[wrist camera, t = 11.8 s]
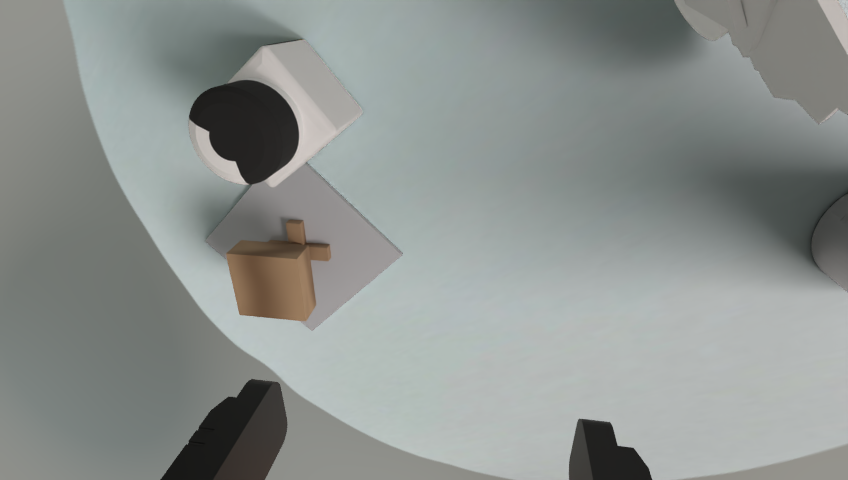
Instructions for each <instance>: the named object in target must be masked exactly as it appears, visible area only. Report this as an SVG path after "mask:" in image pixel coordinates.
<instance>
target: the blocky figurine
mask: <svg viewBox="0 0 848 480" xmlns="http://www.w3.org/2000/svg"><path fill="white" fill-rule="evenodd" d="M361 115H362V109H361V107H360V106H359V105H358V104H357V102H356V101H355V100H354V99H353V97H352V96H351V95H350V94H349V93H348V91H347V90H346V89H345V88H344V86H343V85H342V84H341V83H340V81H339V80H338V79H337V78H336V77H335V75H334V74H333V73H332V72H331V70H330V69H329V68H328V67H327V65H326V64H325V63H324V62H323V60H322V59H321V58H320V57H319V56H318V54H317V53H316V52H315V51H314V49H313V48H312V47H311V46H310V44H309V43H308V42H307V41H306V40H304V39H300V40H294V41H287V42H281V43H275V44H269V45H263V46H261V47H260V48H259V49H258V50H257V52H256V53H255V54H254V55H253V56H252V57H251V58H250V59H249V60H248V61H247V62H246V63H245V64H244V65H243V67H242V68H241V69H240V70H239V71H238V72H237V73H236V74H235V75H234V76H233V77H232V78H231V79H230V80H229V82H228V83H227V84H224V85H221V86H217V87H214V88H211V89H209V90H207V91H205V92H203V93H202V94H201V95H200V96H199V97H198V98H197V99H196V100H195V102H194V104H193V106H192V108H191V111H190V115H189V133H190V138H191V141H192V144H193V146H194V148H195V151H196V152H197V154H198V156H199V157H200V159H201V160H202V161H203V162H204V164H205V165H206V166H207V167H208V168H209V169H210V170H212V171H213V172H214V173H215V174H217V175H218V176H220V177H222V178H223V179H225V180H228V181H230V182H233V183H237V184H243V185H251V184H256V183H260V182H262V181H264V182H265V183H266V184H267V185H268V186H269V187H276V186H277V185H278V184H280V183H281V182H282V181H283V180H285V179H286V178H287V177H288V176H290V175H291V174H292V173H293V172H295V171H296V170H297V169H299V168H300V167H301V166H302V165H304V164H305V163H306V162H307V161H309V160H310V159H311V158H312V157H313V156H314V155H316V154H317V153H318V152H319V151H320V150H321V149H323V148H324V147H325V146H326V145H327V144H328V143H330V142H331V141H332V140H333V139H334V138H335V137H337V136H338V135H339V134H340V133H341V132H342V131H344V130H345V129H346V128H347V127H348V126H349V125H351V124H352V123H353V122H354V121H355V120H356V119H358V118H359V117H360V116H361Z"/></svg>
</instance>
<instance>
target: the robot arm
mask: <svg viewBox="0 0 848 480" xmlns="http://www.w3.org/2000/svg"><path fill="white" fill-rule="evenodd" d="M811 246H812V255H813V257H814V260H815V263H816V264H817V265H818V266H819V268H820V269H821V270H822V271H823V272H824V273H825V274H827V275H828V276H829V277H830V278H831V279H833V280H834V281H835V282H836V283H837V284H839V285H840V286H841V287H842V288H843V289H845V290H846V291H847V292H848V194H846V195H845V196H843V197H842V198H840V199H839V200H838V201H836V202H835V203H834V204H833V205H832V206H831V207H830V208H829V209H828V210H827V211H826V213H825V214H824V215H823V216H822V218H821V219H820V220H819V222H818V224H817V226H816V228H815V230H814V233H813V238H812V242H811ZM286 432H287V417H286V412H285V407H284V402H283V397H282V392H281V387H280V384H279V383H278V382H272V381H263V380H255V379H251V380H249V381H248V382H247V383H246V385H245V386H244V387H243V389H242V390H241V392H240V393H239V395H238V396H237V398H235V397H228V398H226V399H225V400H224V401H222V402H221V403H220V404H218V405H217V406H216V407H215V408H214V409H212V410H211V411H210V412H209V414H208V415H207V416H206V418H205V419H204V421H203V422H202V423H201V425H200V426H199V429H198V431H196V432H195V433H194V434H193V436H192V437H191V439H190V440H189V443H188V445H185V447H184V448H183V450H182V451H181V452H180V454H179V455H178V456H177V458H176V459H175V461H174V462H173V463H172V465H171V466H170V467H169V469H168V470H167V472H166V473H165V474H164V476H163V477H162V479H161V480H265V478H266V476H267V474H268V472H269V470H270V468H271V466H272V464H273V462H274V460H275V459H276V457H277V454H278V453H279V451H280V448H281V447H282V444H283V442H284V440H285V436H286ZM569 480H652V478H651V475H650V471H649V468H648V467H647V465H646V464H645V463H644V461H643V460H642V459H641V457H640V456H639V455H638V453H637V452H636V451H635V449H634V448H630V447H622V446H617V442H616V438H615V434H614V430H613V427H612V425H611V423H610V422H604V421H595V420H587V419H579V420H578V422H577V427H576V431H575V436H574V441H573V446H572V451H571V455H570V462H569Z"/></svg>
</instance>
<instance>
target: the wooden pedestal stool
mask: <svg viewBox="0 0 848 480" xmlns="http://www.w3.org/2000/svg"><path fill="white" fill-rule="evenodd" d="M286 229H287V235H288V241H278V240H269V241H268V242H260V241H247V240H241V241H239V242H238V243H237V244H236V245H235V246H234V247H233V248H232V249H230V250H229V251H228V252H227V253H226V257H227V261H228V265H229V270H230V274H231V279H232V283H233V288H234V292H235V296H236V301H237V305H238V310H239V314H240V315H247V316H257V317H267V318H277V319H287V320H297V321H307V319H308V318H309V316H310V314H311V313H312V311H313V310H314V308H315V306H316V298H315V290H314V282H313V275H312V267H311V260H317V261H329V260H330V258H331V250H330V244H319V243H307V242H306V235H305V227H304V220H288V221H287V222H286Z"/></svg>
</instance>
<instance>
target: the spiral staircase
mask: <svg viewBox="0 0 848 480" xmlns="http://www.w3.org/2000/svg"><path fill="white" fill-rule="evenodd" d="M674 1H675V3H676V5H677V7H678V9H679V11H680V12H681V14H682V15H683V17H684V18H685V19H686V21H687V22H688V23H689V24H690V25H691V27H692V28H693V29H694V30H695V31H696V32H698V33H699V34H700V35H701V36H703V37H704V38H706V39H708V40H711V41H716V40H718V39H719V38H720V37H722V36H723V35H725V34H726V33H727V32H728V33H729V35H730V36H731V40H732V43H733V45H734V46H736V47H737V48H738V50H739V51H740V53H741V55H742V56H743V57H750V59H751V61H752V64H753V66H754V69H755V70H756V71H758V72H759V74H760V75H761V77H762V79H763V80H764V82H765V84H766V85H767V87H768V89H769V90H770V92H771V94H772V95H773V97H775V98H781V99H788V100H795V101H797V102H798V103H799V104H800V106H801V107H802V108H803V109H804V110H805V111H806V112H807V113H808V114H809V115H810V116H811V117H812V118H813V119H814V120H815V121H816V123H817V124H818V125H819V124H820V123H822V122H824V121H825V120H827V119H829V118H830V117H831V116H832V115H833V114H834V113H835V112H836V111H837V110H838V109H839V110H840V111H842V112H844V113H845V114H847V115H848V18H847V16H846V15H845V13H844V11H843V9H842V7H841V5H840V4H839V2H838V0H674Z"/></svg>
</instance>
